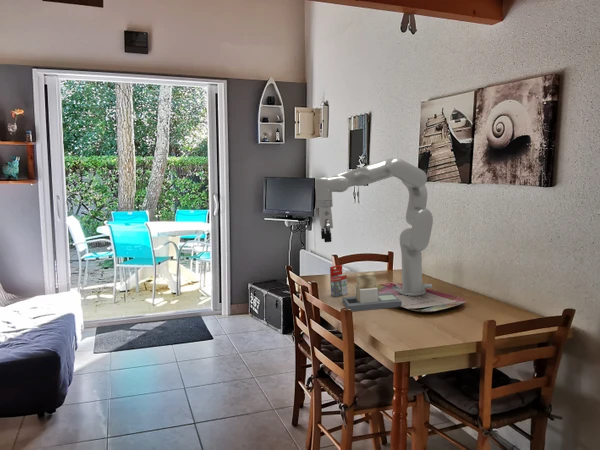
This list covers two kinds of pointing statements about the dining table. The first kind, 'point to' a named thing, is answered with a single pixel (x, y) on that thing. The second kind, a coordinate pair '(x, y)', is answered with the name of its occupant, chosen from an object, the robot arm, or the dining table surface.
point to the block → (365, 282)
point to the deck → (383, 302)
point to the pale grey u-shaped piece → (368, 295)
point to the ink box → (338, 281)
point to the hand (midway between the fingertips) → (326, 240)
